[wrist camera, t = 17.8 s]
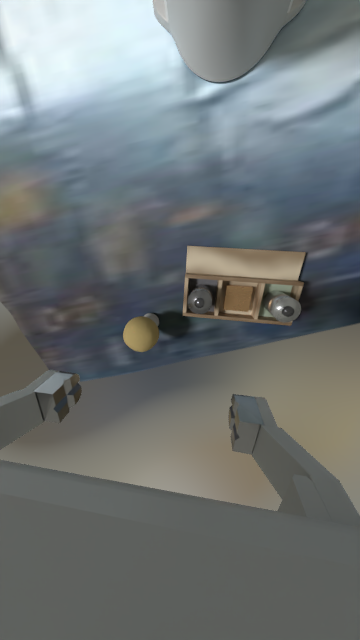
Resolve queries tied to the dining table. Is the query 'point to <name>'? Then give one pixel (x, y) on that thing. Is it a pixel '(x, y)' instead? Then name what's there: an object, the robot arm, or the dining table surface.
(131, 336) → the light bulb
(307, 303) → the dining table surface
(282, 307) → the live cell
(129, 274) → the dining table surface
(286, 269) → the wooden compartment tray
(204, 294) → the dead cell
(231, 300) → the brown square tile
